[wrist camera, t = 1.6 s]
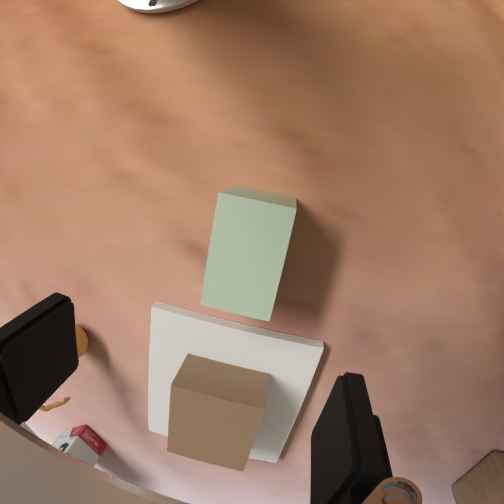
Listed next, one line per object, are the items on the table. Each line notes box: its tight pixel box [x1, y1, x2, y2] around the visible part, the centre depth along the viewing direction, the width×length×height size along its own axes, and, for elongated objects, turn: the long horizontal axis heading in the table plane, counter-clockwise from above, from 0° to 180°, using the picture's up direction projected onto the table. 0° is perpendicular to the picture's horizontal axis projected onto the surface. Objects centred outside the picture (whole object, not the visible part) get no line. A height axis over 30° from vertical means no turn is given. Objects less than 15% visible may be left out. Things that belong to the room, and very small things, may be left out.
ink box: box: [52, 425, 107, 467], centre depth 33 cm, size 9×5×12 cm, turn 123°
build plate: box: [148, 301, 324, 471], centre depth 29 cm, size 18×16×6 cm
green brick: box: [200, 185, 297, 322], centre depth 24 cm, size 8×5×6 cm, turn 169°
